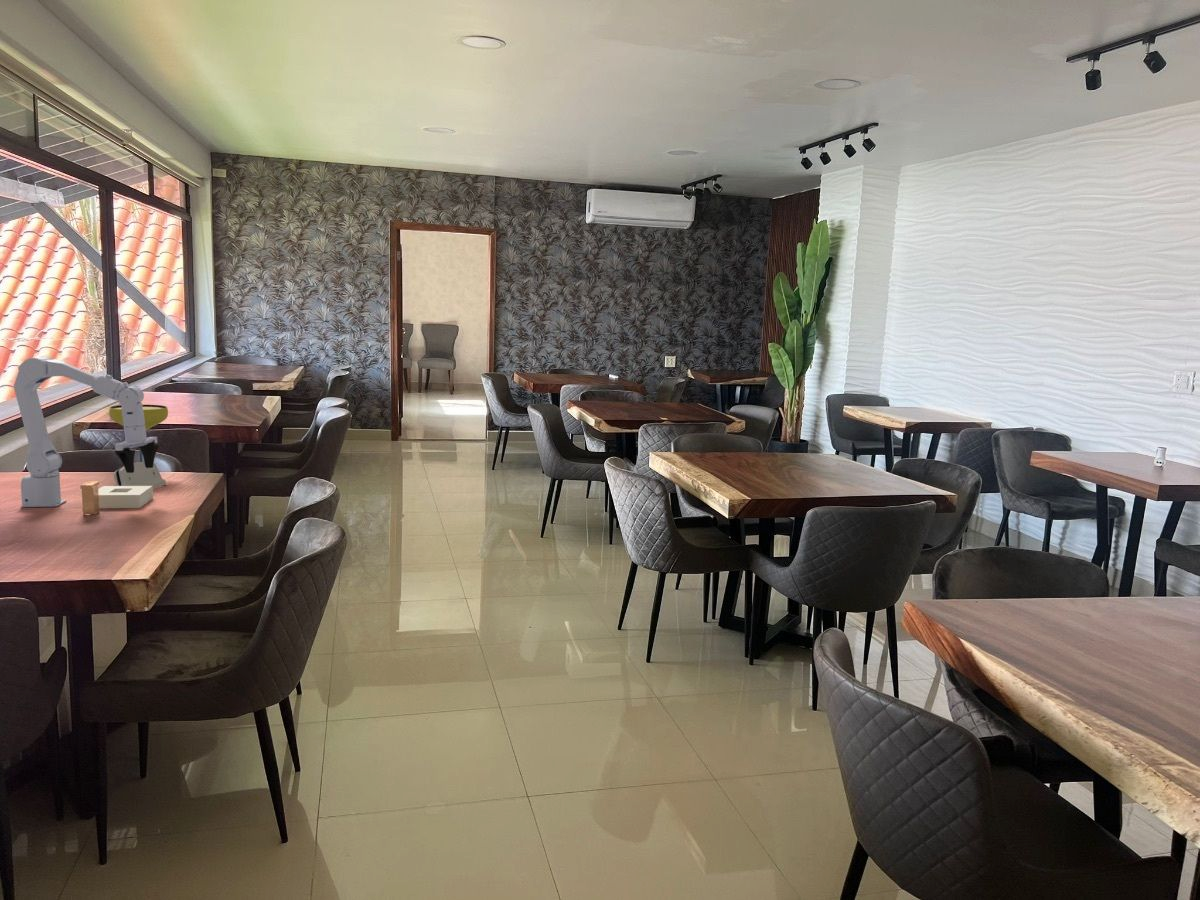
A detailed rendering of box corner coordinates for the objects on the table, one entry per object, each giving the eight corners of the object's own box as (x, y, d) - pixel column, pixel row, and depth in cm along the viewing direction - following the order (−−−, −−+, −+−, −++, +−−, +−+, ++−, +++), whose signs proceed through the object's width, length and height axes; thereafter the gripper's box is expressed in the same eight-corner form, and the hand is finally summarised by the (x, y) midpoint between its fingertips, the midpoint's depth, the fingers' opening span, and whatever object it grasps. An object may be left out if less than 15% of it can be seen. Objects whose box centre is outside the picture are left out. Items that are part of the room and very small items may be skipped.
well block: (88, 508, 249) (87, 495, 248) (103, 498, 262) (103, 486, 262) (140, 507, 252) (139, 494, 252) (152, 498, 266) (152, 485, 265)
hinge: (129, 494, 270) (119, 464, 269) (118, 497, 271) (108, 468, 271) (168, 485, 286) (158, 457, 285) (157, 488, 287) (147, 460, 287)
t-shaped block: (81, 516, 240) (80, 485, 238) (89, 511, 245) (87, 481, 244) (93, 516, 240) (91, 485, 239) (100, 511, 246) (99, 481, 245)
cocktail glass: (165, 471, 310) (163, 404, 306) (174, 479, 296) (171, 409, 292) (109, 474, 300) (106, 405, 296) (115, 483, 285) (112, 410, 281)
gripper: (126, 429, 246) (132, 474, 248) (163, 422, 259) (168, 465, 262) (106, 429, 247) (112, 474, 249) (144, 422, 261) (149, 465, 263)
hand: (140, 470), depth 256 cm, fingers open, 7 cm apart
